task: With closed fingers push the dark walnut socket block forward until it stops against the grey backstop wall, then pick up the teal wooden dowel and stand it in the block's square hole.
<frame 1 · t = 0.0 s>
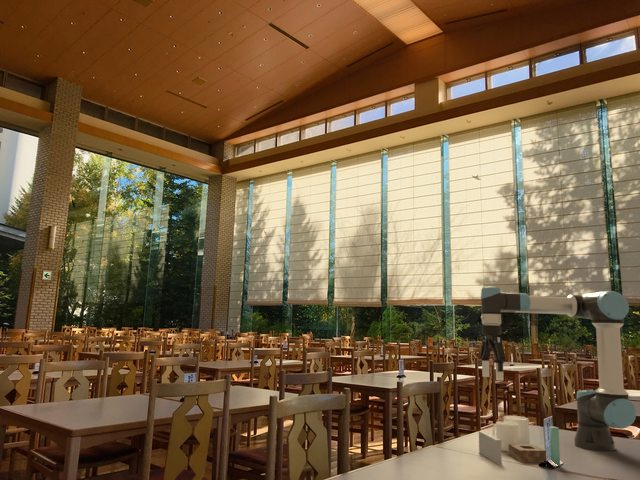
hand: (492, 378, 204), 28 cm above the table, fingers open, 13 cm apart
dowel: (555, 465, 183), on the table
cup: (504, 449, 207), on the table
mug: (516, 443, 218), on the table
wall: (489, 457, 191), on the table
block: (527, 452, 192), point 2 cm above the table, slide at 0.0 cm
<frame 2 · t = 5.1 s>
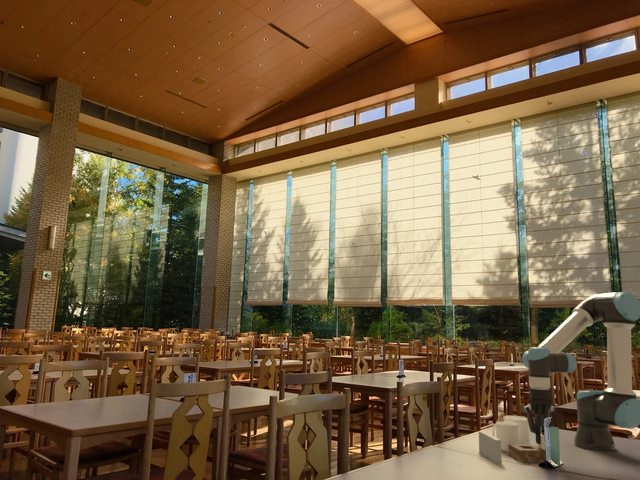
hand: (541, 453, 192), 2 cm above the table, fingers closed
block: (527, 452, 192), point 2 cm above the table, slide at 0.1 cm, touching gripper
everything else where it was.
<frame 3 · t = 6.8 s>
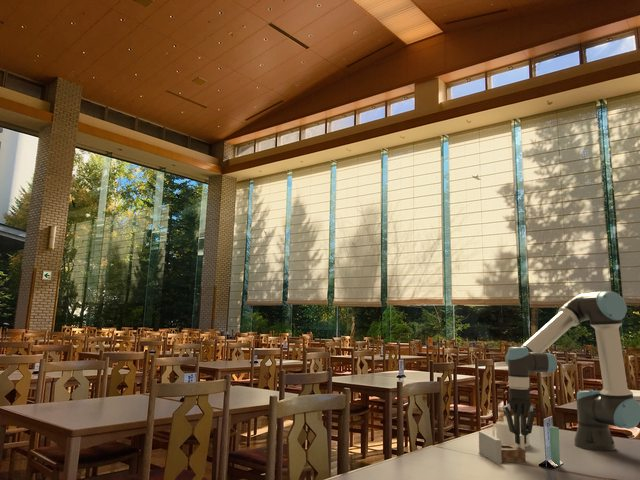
hand: (521, 452, 192), 2 cm above the table, fingers closed
block: (506, 452, 191), point 2 cm above the table, slide at 8.2 cm, touching gripper
everything else where it was.
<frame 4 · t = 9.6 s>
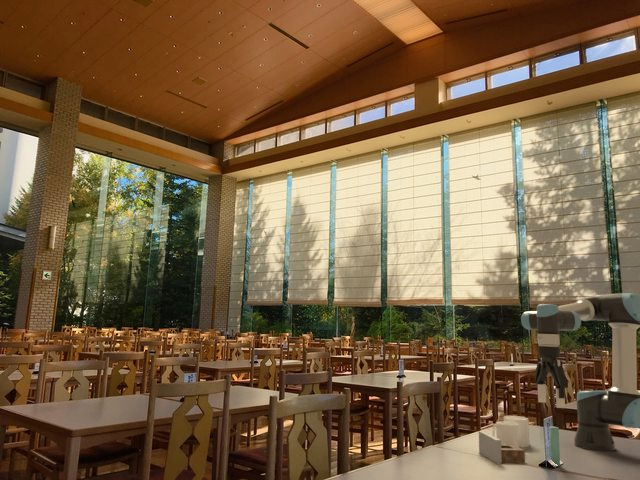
hand: (551, 405, 187), 21 cm above the table, fingers open, 13 cm apart
block: (505, 452, 191), point 2 cm above the table, slide at 8.4 cm
everything else where it was.
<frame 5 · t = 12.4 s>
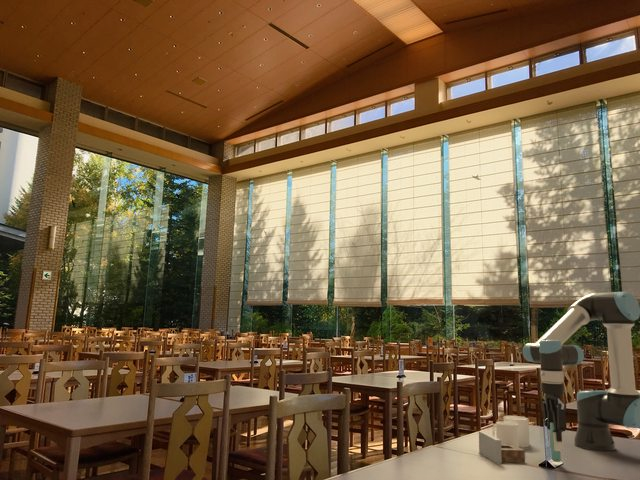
hand: (555, 449, 184), 5 cm above the table, fingers closed on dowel, 3 cm apart
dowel: (556, 460, 184), point 1 cm above the table, touching gripper
everything else where it was.
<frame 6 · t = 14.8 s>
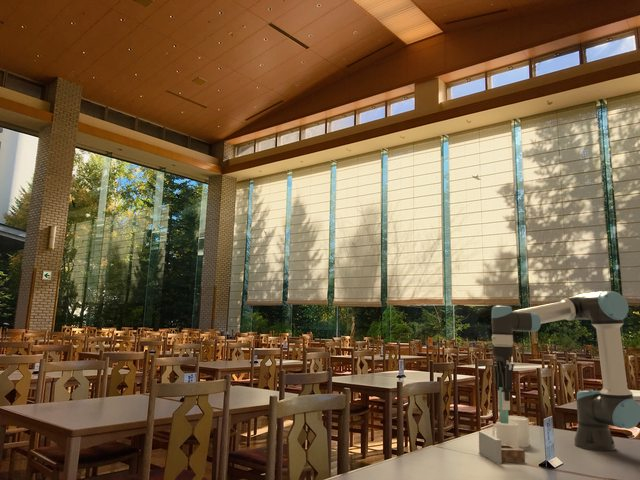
hand: (504, 408, 194), 18 cm above the table, fingers closed on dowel, 3 cm apart
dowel: (504, 422, 193), point 13 cm above the table, touching gripper
everything else where it was.
when the fingers open (5 cm above the table, at t = 17.7 s): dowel stays where it is, resting in block.
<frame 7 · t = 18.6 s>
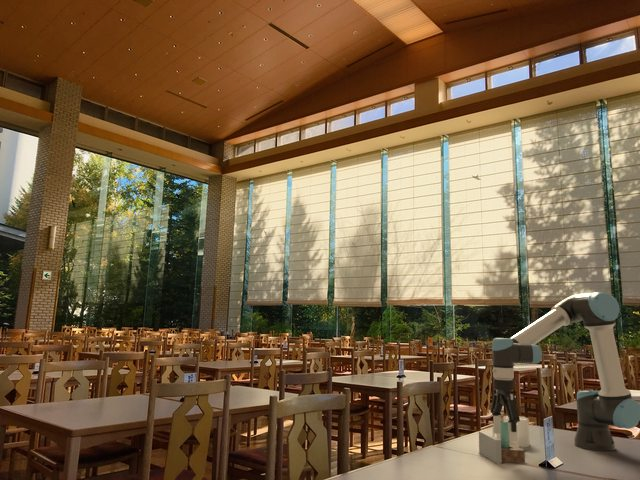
hand: (504, 437, 192), 8 cm above the table, fingers open, 13 cm apart
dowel: (505, 458, 191), resting in block
everything else where it was.
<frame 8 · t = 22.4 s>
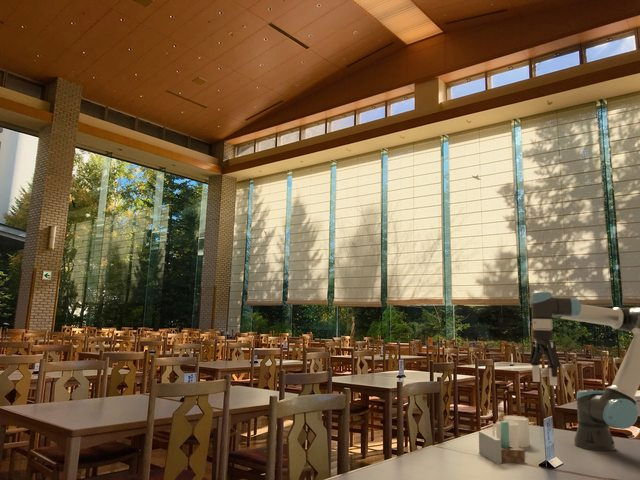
hand: (544, 383, 205), 27 cm above the table, fingers open, 13 cm apart
nothing on the table moved.
at the end: block slide at 8.4 cm; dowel 0.1 cm off-centre on the block, point 0.0 cm above the block's base; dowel tilted 0° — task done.
